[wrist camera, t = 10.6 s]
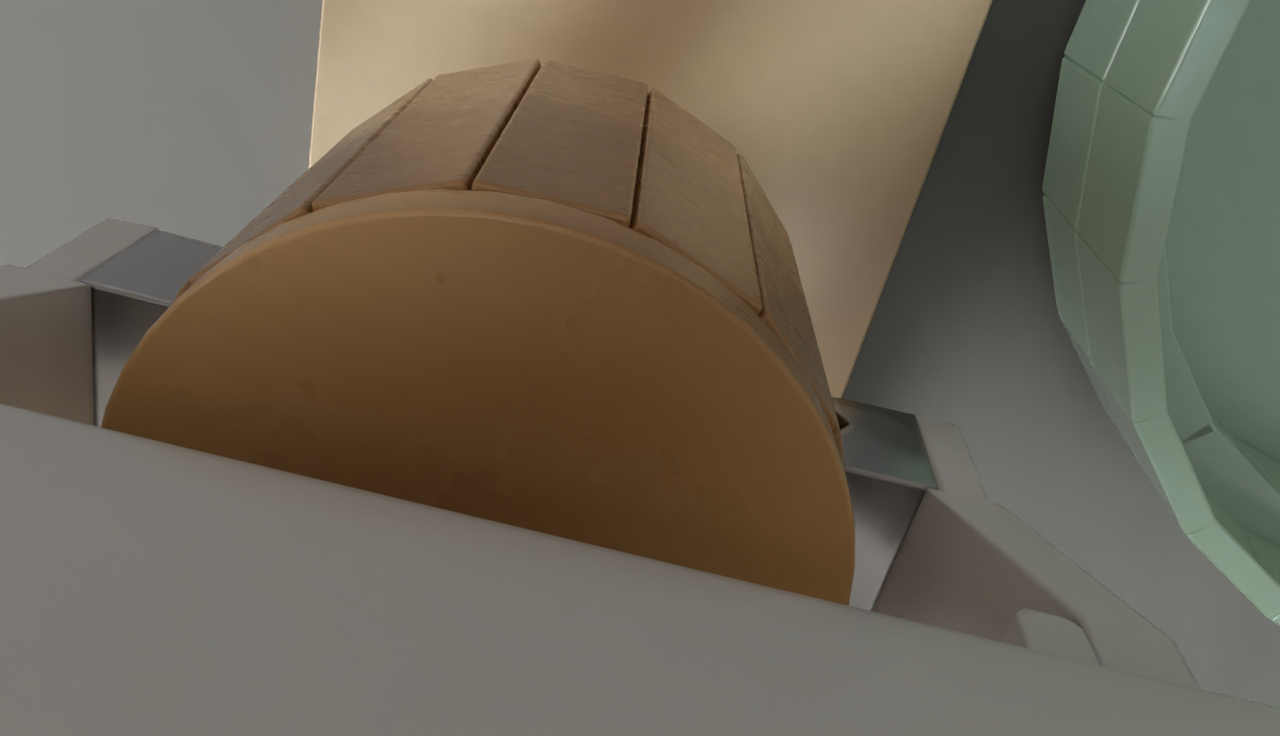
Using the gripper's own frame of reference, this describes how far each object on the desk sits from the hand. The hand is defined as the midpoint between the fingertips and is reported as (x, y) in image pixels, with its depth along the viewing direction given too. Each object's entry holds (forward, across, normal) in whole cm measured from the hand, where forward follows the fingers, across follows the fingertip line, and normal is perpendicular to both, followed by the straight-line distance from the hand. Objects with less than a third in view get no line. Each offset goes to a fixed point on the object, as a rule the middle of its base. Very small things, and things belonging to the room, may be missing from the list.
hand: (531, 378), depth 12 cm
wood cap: (+2, 0, 0) cm, 2 cm away
